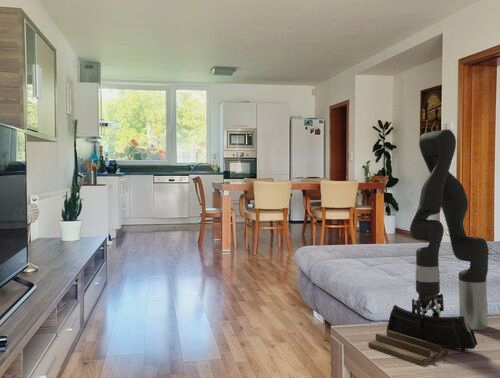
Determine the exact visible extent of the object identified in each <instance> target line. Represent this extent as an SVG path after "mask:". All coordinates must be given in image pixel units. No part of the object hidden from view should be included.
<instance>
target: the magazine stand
mask: <svg viewBox="0 0 500 378" xmlns="http://www.w3.org/2000/svg"><path fill="white" fill-rule="evenodd" d="M367 344H368V348H370V347H371V348H370V349H373V348H374V349H373V350H376V349H377V351H379V352H382V353H384V354H385V353H386V354H388V355H391V356H394V357H396V358H399V359H402V360H405V361H408V362H411V363H415V364H416V365H420V366H423V365H425V364H427V363H431V362H433V361H435V360H439V359H440V358H442V357H446V356H447V355H449V348H446V347H441V345H437V344H434V343H430V342H427V341H424V340H420V339H417V338H414V337H410V336H407V335H403V334H400V333H397V332H393V331H390V330H387V329H386V335H384V334H381V333H375V340H371V341H368V343H367Z"/></svg>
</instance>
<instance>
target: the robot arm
mask: <svg viewBox="0 0 500 378" xmlns="http://www.w3.org/2000/svg"><path fill="white" fill-rule="evenodd" d="M418 140H419V141H418V145H419V146H418V147H419V150H420V152H421V156H422V158H423V160H424V162H425V164H426V167H427V169H428V171H429V175H428V177H426V180H425V181H424V182H423V185H422V187H421V191H420V197H419V203H418V208H417V209H416V212H415V215H414V217H413V219H412V220H411V223H410V226H409V227H410V228H409V234H410V236H411V237H412V239H414V240H416V241H425V242H427V241H428V242H429V243H428V244H427V246H424V247H422V246H421V247H418V248H417V249H416V252H415V259H416V261H415V264H416V265H415V292H416V293H417V294H418V298H412V299H411V312H412V316H413V317H416V318H417V328H418V329H420V330H424V319H423V318H424V316H425V315H426V314H428V312H429V310H431V312H432V313H431V316H434V317H441V313H442V312H444V310H445V309H444V308H445V305H444V294H442V293H440V291H441V290H440V289H441V288H440V287H441V286H440V285H441V283H440V282H441V281H440V266H439V265H440V264H439V252H440V249H441V243H442V240H443V237H444V233H445V229H444V225H443V224H442V222H441V221H440V220H437V219H428V218H429V217H431V216H434V215H437V214H439V213H440V212H441V210H442V213H443V216H444V220H445V223H446V227H447V230H448V235H449V238H450V239H449V241H450V245H451V249H452V252H453V255H454V257H455V258H456V259H458V260H459V261H463V262H469V268H468V269H464V270H461V271H459V272H458V301H459V302H458V304H459V305H458V306H459V317H460V316H463V317H464V319H465V321H466V322H467V323H468V325H469V326H470V328H471V330H473V331H484V330H487V329H488V326H489V311H488V310H489V309H488V299H487V296H488V295H487V294H488V293H487V275H488V273H489V272H488V271H489V245H488V243H487V241H486V240H485V239H484V238H483V237H477V236H476V237H475V236H468V235H467V234H466V232H465V229H464V228H465V227H464V220H465V217H466V214H467V212H468V209H469V200H468V197H467V194H466V190H465V188H464V186H463V184H462V183H461V182H460V181H459V180H458V178H457V177H456V176H454V175H453V174H452V173H451V172H450V168H451V165H452V161H453V158H454V155H455V151H456V145H457V140H456V135H455V134H454V133H453V131H452V130H451V129H440V130H435V131H433V130H432V131H429V132H425V133H423V134H421V135H420V137H419V139H418ZM420 314H421V315H420Z"/></svg>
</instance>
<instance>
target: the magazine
mask: <svg viewBox="0 0 500 378" xmlns="http://www.w3.org/2000/svg"><path fill="white" fill-rule="evenodd" d="M391 309H392V310H391V312H390V315H389V319H388V323H387V327H386V331H387V330H390V331H393V332H397V333H400V334H403V335H407V336H410V337H414V338H417V339H420V340H424V341H427V342H430V343H434V344H437V345H441V347H442V348H445V349H454V350H455V349H456V350H457V349H458V350H461V352H462V353H465V352H466V350H473V349H475V348H476V346H477V345H478V342H477V338H476V336H475V332H474V330H471V328H470V326H469V325H468V323H467V322H466V321H465V319H464V317H463V316H460V315H459V317H455V316H453V317H443V316H442V317H441V316H440V317H434V316H432V315H427V314H425V316H424V318H423V319H424V330H420V329H418V328H417V318H416V317H413V316H412V310H411V311H410V310H407V309H404V308H402V307H400V306H398V305H396V304H394V305H393V306H392V308H391ZM421 314H422V313H420V315H421Z"/></svg>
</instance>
